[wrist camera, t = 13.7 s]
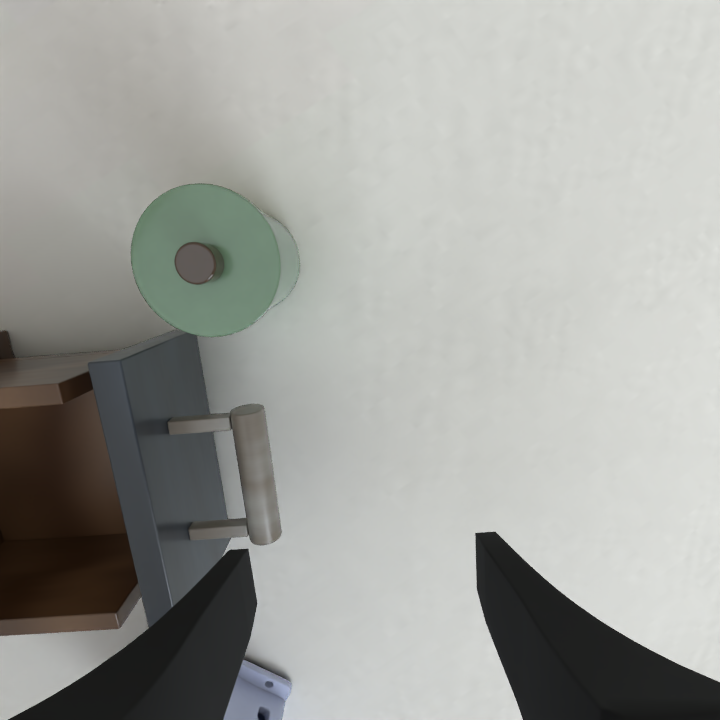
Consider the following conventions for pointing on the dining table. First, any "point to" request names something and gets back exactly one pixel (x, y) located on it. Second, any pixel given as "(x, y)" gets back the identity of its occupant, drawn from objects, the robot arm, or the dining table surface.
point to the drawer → (118, 484)
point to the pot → (211, 260)
